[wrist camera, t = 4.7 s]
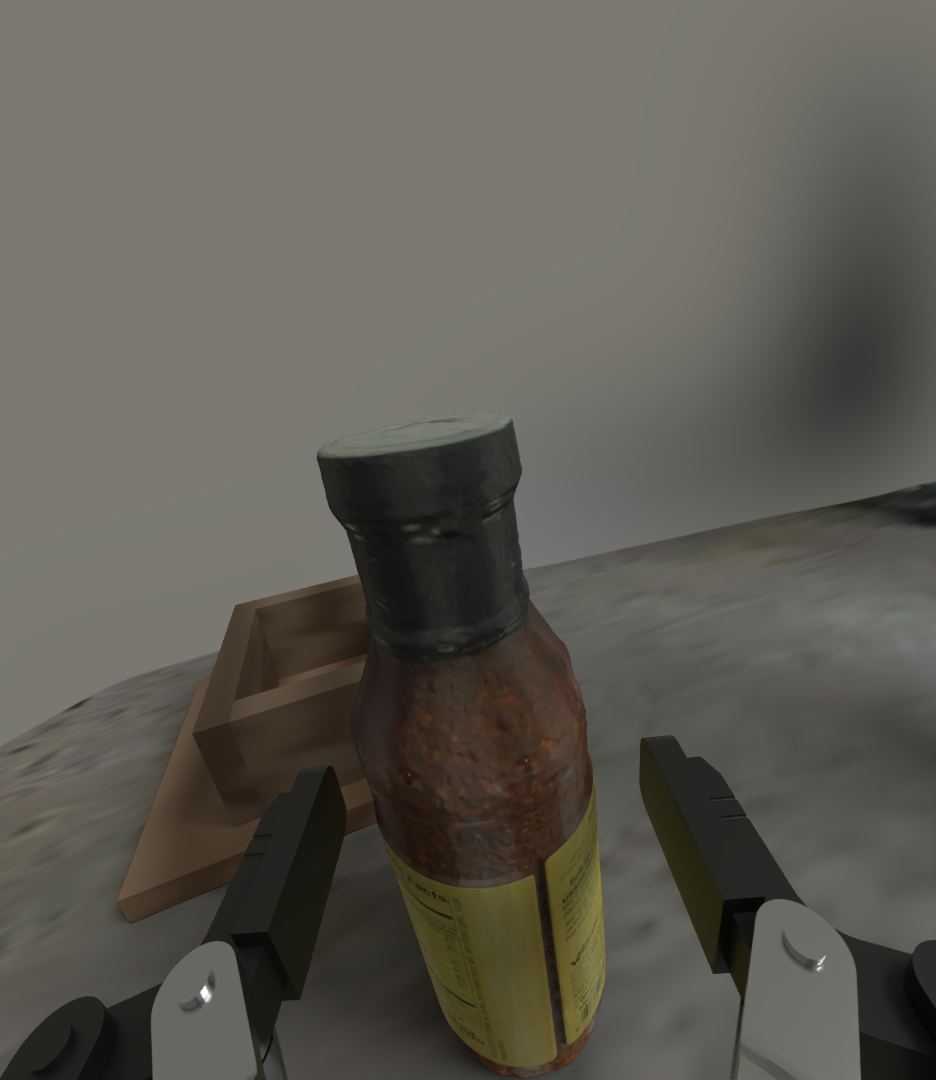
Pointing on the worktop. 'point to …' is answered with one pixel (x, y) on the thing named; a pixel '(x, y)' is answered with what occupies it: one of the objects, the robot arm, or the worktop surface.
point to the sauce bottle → (473, 738)
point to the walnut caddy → (255, 740)
